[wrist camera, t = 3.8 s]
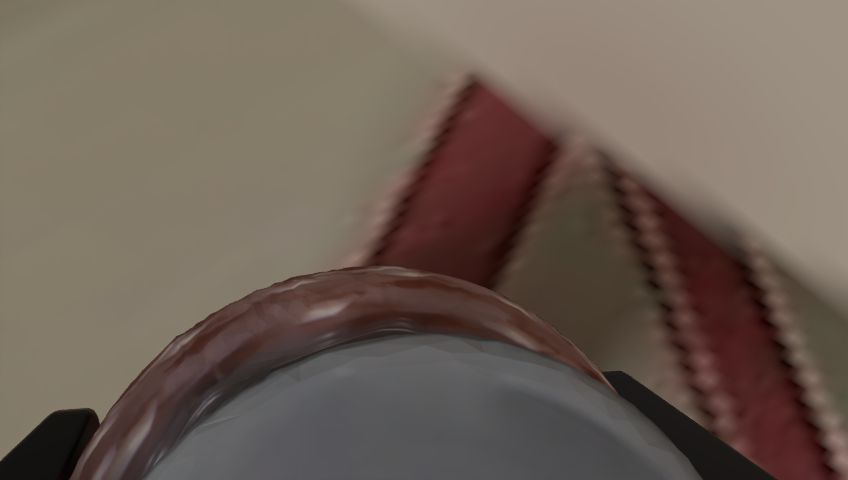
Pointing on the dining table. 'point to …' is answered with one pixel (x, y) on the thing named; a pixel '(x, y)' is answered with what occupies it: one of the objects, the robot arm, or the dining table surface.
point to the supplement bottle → (376, 393)
